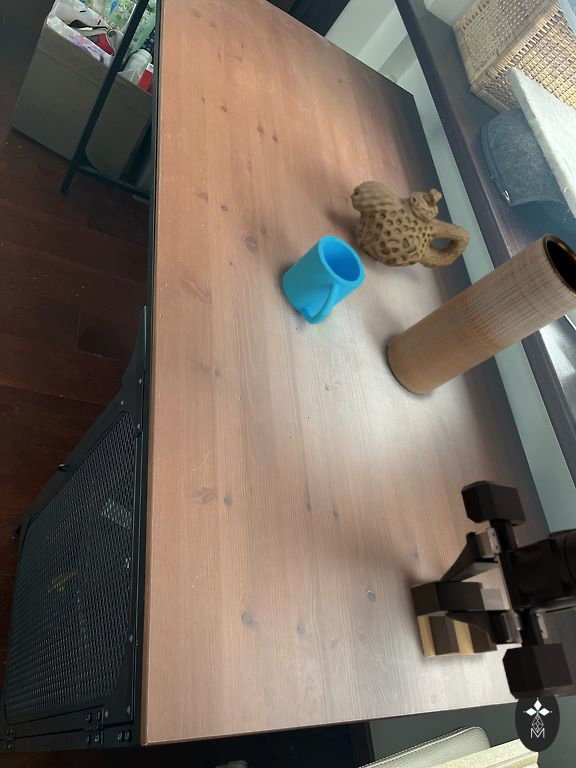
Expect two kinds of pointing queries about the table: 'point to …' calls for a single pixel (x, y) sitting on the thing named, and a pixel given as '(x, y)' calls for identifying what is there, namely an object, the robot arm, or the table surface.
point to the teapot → (404, 227)
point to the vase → (487, 316)
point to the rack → (452, 637)
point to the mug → (323, 278)
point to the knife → (453, 598)
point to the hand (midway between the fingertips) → (444, 599)
